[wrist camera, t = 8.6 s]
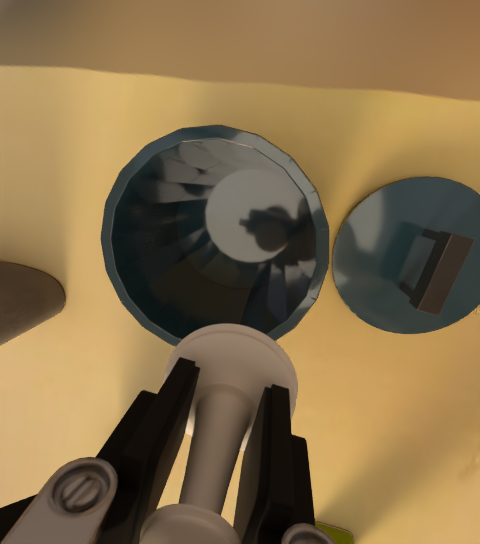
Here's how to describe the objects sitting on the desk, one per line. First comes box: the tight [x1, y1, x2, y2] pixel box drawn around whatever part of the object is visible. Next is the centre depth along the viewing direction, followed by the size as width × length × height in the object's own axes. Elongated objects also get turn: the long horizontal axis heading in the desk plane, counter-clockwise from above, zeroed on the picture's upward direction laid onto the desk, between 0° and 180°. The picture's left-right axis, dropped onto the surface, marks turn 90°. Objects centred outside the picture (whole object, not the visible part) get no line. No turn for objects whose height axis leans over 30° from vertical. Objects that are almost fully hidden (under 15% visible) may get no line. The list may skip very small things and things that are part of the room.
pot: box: [101, 125, 329, 347], centre depth 24 cm, size 13×13×12 cm
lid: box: [332, 177, 480, 334], centre depth 26 cm, size 14×14×6 cm
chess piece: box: [139, 324, 298, 544], centre depth 7 cm, size 5×5×10 cm
